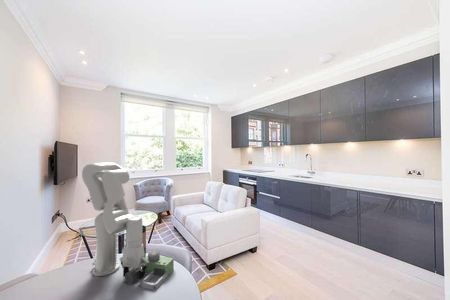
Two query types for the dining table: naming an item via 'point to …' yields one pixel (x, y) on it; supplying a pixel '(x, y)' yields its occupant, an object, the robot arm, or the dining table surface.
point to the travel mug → (144, 238)
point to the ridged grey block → (132, 276)
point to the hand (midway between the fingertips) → (134, 276)
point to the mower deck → (157, 269)
